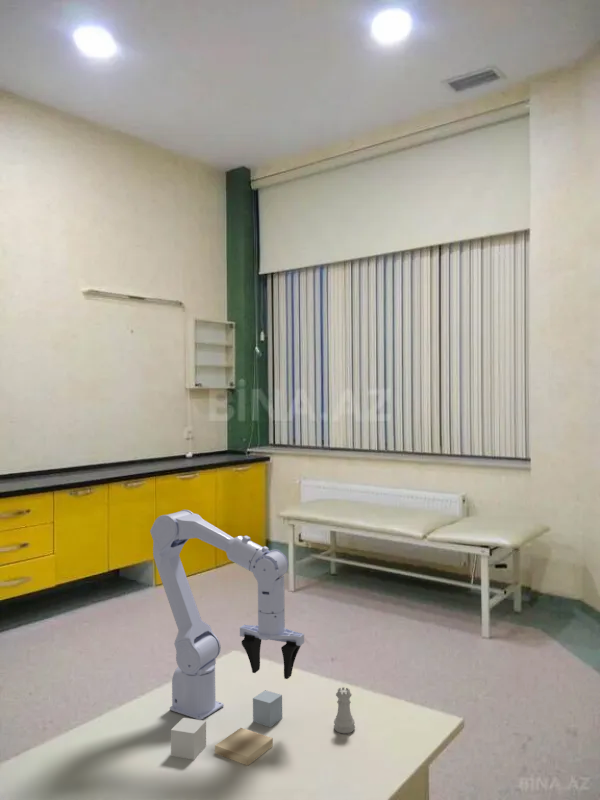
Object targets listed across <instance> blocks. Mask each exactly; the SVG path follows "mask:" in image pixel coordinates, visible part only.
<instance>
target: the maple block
mask: <svg viewBox="0 0 600 800" xmlns="http://www.w3.org/2000/svg"><path fill="white" fill-rule="evenodd" d="M273 742H274V739H273V737H271V736H268V735H264V734H261V733H258V732H255V731H252V730H249V729H246V728H243V727H239V728H238V729H237V730H235V731H234V732H232V733H231V734H229V735H228V736H226V737H225V738H224V739H222V740H221V741H219V742H218V743H216V744H215V745H214V754H216V755H219V756H220V757H224V758H227V759H230V760H232V761H235V762H237V763H240V764H243V765H245V766H249V765H250V764H252V763H253V762H254V761H256V760H257V759H258V758H260V757H261V756H262V755H263V754H264V753H266V752H267V751H268V750H270V749H271V748H272V747H273V745H274V743H273Z"/></svg>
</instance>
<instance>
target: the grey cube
mask: <svg viewBox="0 0 600 800" xmlns="http://www.w3.org/2000/svg"><path fill="white" fill-rule="evenodd" d="M206 747H207V721H206V720H204V719H202V720H198V719H195V718H188V717H183V718H181V719H180V720H179V722H177V723H176V724H175V725H174V726H173V727H172V728H171V729H170V756H171V757H174V758H175V757H176V758H182V759H187V760H188V759H189V760H193V761H195V760H196V759H197V757H198V756H199V755H200V754H201V753H202V752H203V750H205V749H206Z"/></svg>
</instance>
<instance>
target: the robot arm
mask: <svg viewBox="0 0 600 800" xmlns="http://www.w3.org/2000/svg"><path fill="white" fill-rule="evenodd" d="M149 532H150V535H151V537H152V540H153V543H152V545H153V546H152V551H153V552H152V554H153V555H152V556H153V559H154V562H155V566H156V568H157V571H158V575H159V577H160V580H161V582H162V586H163V589H164V592H165V595H166V597H167V601H168V603H169V607H170V609H171V612H172V615H173V618H174V621H175V625H176V627H177V629H178V632H177V634H176V638H175V639H174V643H173V644H174V647H175V661H176V664H177V668H176V669H175V671H174V673H173V675H172V678H171V698H172V699H171V701H172V702H171V706H170V707H169V711H172V712H175V713H178V714H180V715H184V716H187V717H190V718H191V719H196V720H204V719H205V718H207V717H208V716H210V715H211V714H213V713H215V712H216V711H218V710H219V709H221V708H223V707H224V705H225V704H224V703H223V702H219V701H218V700H216V664H217V663H216V661H217V660H216V658H218V657H219V656H220V653H221V649H222V648H221V642H220V640H219V637H217V635H216V634H215V633H214V631H213V630H212V627H211V625H210V624H208V623H207V622H206V621H203V620H202V618H201V614H200V612H199V609H198V606H197V603H196V600H195V597H194V595H193V591H192V589H191V586H190V583H189V580H188V578H187V574H186V572H185V569H184V566H183V563H182V561H181V560H182V559H181V557H180V553H181V551H182V549H183V547H184V545H185V544H186V543H187V542H188V541H189V539H199V540H201V541H202V542H204V543H207V544H209V545H212V546H213V547H215V548H217V549H219V550H221V551H224V552H225V553H226V556H227V559H228V560H229V561H230V562H233V563H235V564H236V565H238V566H240V567H242V568H244V569H246V570H247V571H250V572H251V573H252V574H253V576H254V578H255V579H256V581H257V625H256V624H255V625H253V624H252V625H251V624H243V625H241V626H240V627H239V636H240V637H244V638H243V639H242V640H241V646H242V647H243V649H244V650H245V653H246V655H247V657H248V660H249V663H250V667H251V672H252V674H256V673H257V672H258V671H260V669H261V644H262V640H263V641H268V640H269V641H275V642H281V643H285V644H283V645H282V646H281V653H282V657H283V658H282V659H283V677H284V680H288V679H290V678H291V677H292V673H293V667H294V663H295V660H296V657H297V655H298V653H299V650H300V648H301V646H302V645H303V644H304V643H305V633H302V632H298V631H296V630H291V629H290V628H287V627H286V624H285V623H286V622H285V621H286V620H285V617H286V616H285V615H286V613H285V612H286V611H285V599H286V597H285V575H286V573H287V572H288V569H289V560H288V558H287V555H285V554H284V553H283V552H282V551H281V550H279V549H272V550H269V549H270V548H269V547H268V546H265V545H264V546H262V545H260V544H258V543H256V542H254V541H252V540H251V537H250V536H248V535H244V536H243V535H238V536H235V537H233V536H231V535H230V534H228V533H226V532H225V531H223V530H222V529H220V528H218V527H216V525H213V524H212V523H210V522H208V521H207V520H206V519H203V518H202V516H201V515H199V513H194V512H192V511H191V510H189V509H182V510H180V511H177V512H173V513H168V514H162V515H158V517H157V518H155V520H154V522H153V524H152V526H151V529H150V530H149Z"/></svg>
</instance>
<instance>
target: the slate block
mask: <svg viewBox="0 0 600 800" xmlns="http://www.w3.org/2000/svg"><path fill="white" fill-rule="evenodd" d="M282 719H283V695H282V694H280V693H276V692H272V691H269V690H263V691H262V692H260V693H259V694H257V695H256V696H254V697H252V722H253V723H255V724H259V725H262V726H265V727H269V728H271V727H273V726H274V725H275V724H277V723H278V722H279V721H281V720H282Z"/></svg>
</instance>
